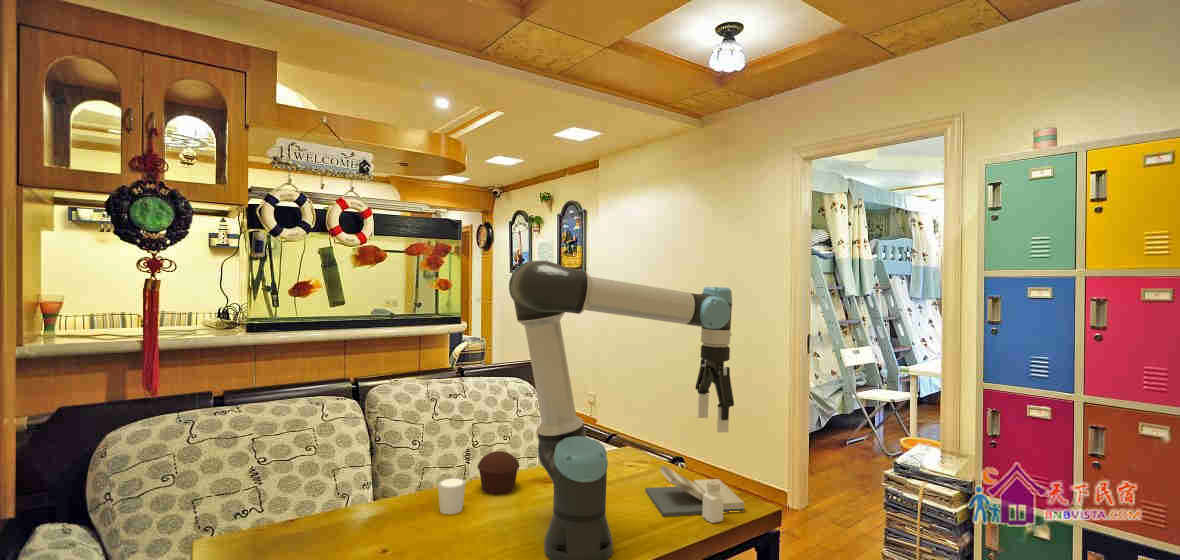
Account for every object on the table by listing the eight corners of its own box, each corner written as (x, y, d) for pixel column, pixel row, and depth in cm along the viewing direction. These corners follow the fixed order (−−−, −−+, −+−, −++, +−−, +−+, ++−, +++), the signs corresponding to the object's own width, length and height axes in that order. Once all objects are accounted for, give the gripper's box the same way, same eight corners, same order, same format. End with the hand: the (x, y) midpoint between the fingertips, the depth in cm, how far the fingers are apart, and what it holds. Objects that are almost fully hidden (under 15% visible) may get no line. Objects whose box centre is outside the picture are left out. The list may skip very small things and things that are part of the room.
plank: (670, 482, 141) (673, 477, 141) (659, 470, 150) (662, 465, 150) (706, 503, 143) (709, 498, 143) (694, 489, 152) (697, 484, 152)
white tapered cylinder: (431, 511, 137) (432, 484, 136) (450, 501, 143) (450, 475, 143) (452, 517, 133) (452, 489, 133) (470, 507, 139) (471, 480, 139)
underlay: (663, 517, 137) (663, 506, 137) (645, 491, 153) (645, 482, 153) (743, 512, 141) (744, 502, 141) (718, 487, 157) (718, 479, 157)
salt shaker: (714, 515, 139) (715, 478, 139) (723, 522, 135) (725, 484, 135) (701, 517, 137) (702, 480, 137) (710, 524, 134) (711, 486, 133)
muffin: (523, 482, 157) (524, 448, 157) (513, 498, 146) (514, 461, 146) (483, 479, 158) (484, 445, 158) (471, 495, 147) (472, 458, 147)
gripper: (750, 352, 132) (746, 438, 132) (710, 339, 156) (707, 412, 157) (721, 351, 131) (717, 438, 131) (686, 338, 155) (683, 412, 155)
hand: (712, 424), depth 144 cm, fingers open, 13 cm apart
